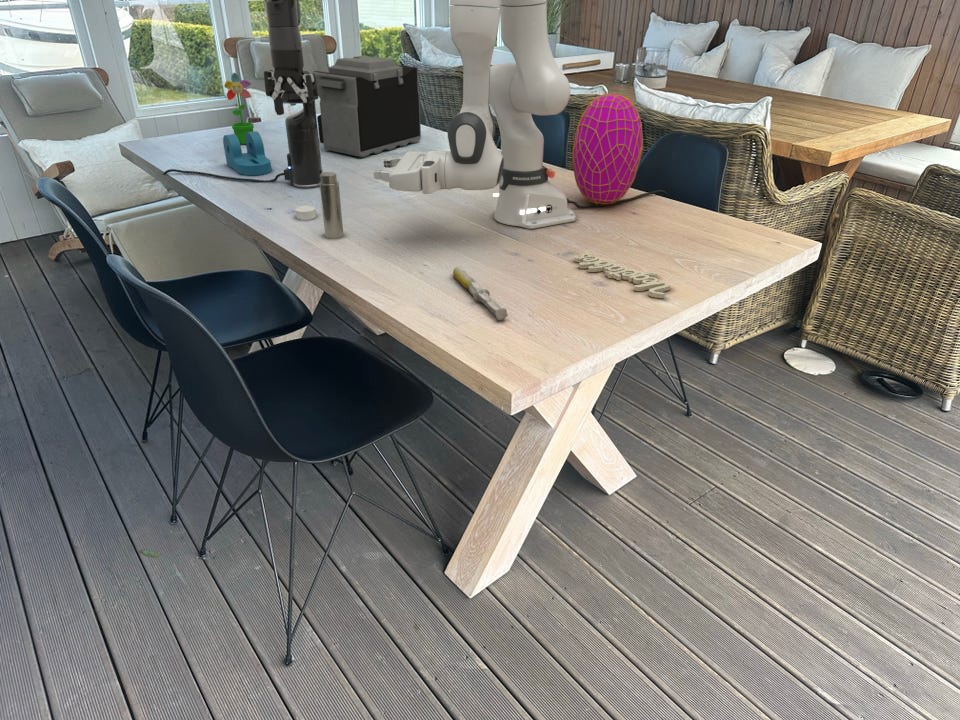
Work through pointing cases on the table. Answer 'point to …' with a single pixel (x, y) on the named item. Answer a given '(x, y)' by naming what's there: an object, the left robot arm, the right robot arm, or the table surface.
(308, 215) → the lid
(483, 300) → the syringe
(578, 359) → the table surface
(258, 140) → the camera mount
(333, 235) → the cylinder
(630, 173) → the decorative egg
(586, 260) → the decorative sign
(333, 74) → the electronic device
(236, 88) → the potted flower
